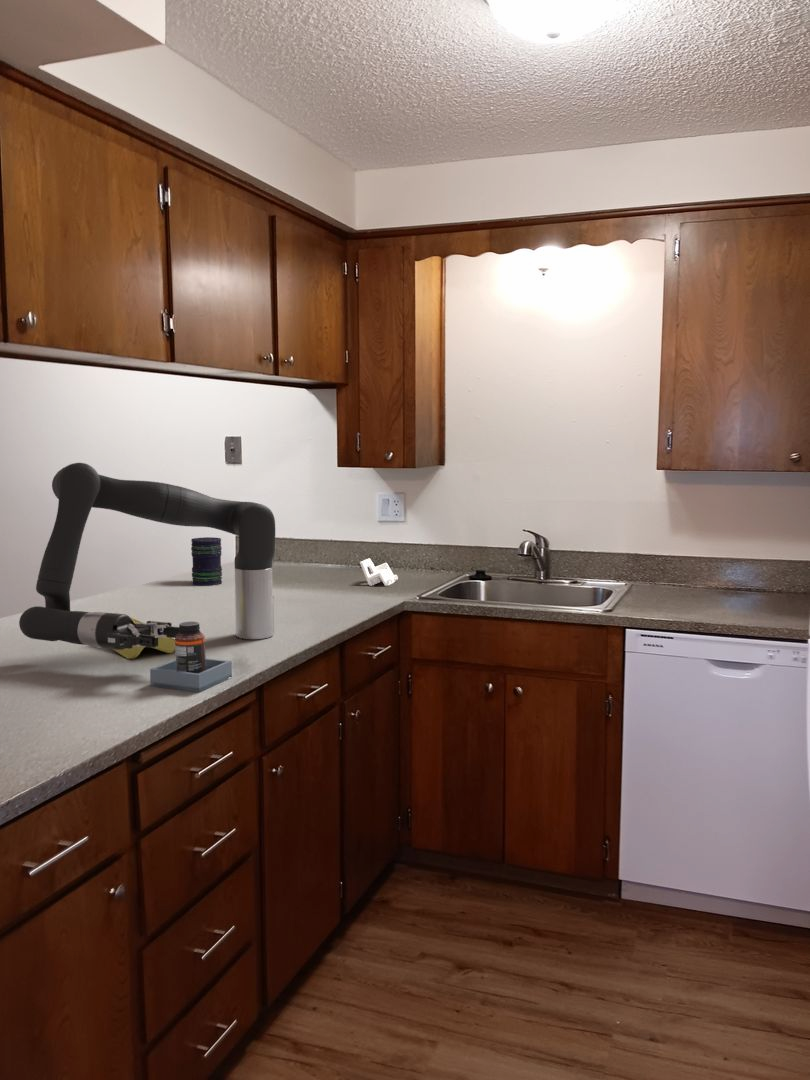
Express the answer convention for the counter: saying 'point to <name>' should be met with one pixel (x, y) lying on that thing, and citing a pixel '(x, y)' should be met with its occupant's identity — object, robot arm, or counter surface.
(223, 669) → the parts tray
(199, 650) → the supplement bottle
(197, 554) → the storage jar
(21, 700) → the counter surface
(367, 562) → the mounting bracket
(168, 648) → the plastic component
